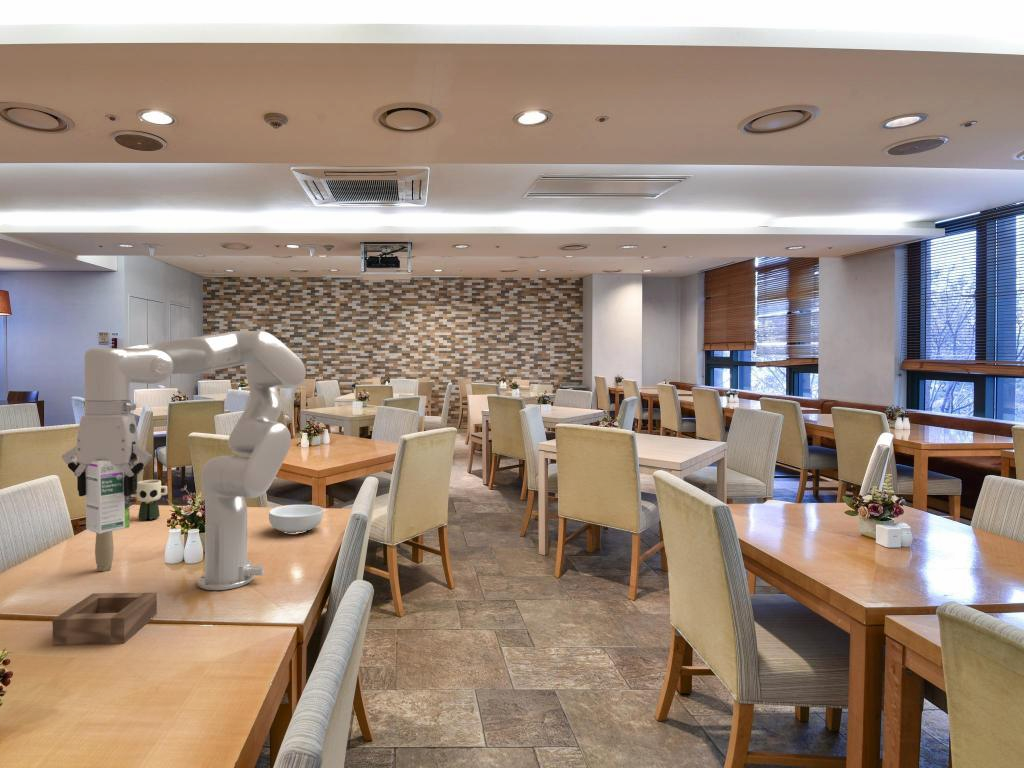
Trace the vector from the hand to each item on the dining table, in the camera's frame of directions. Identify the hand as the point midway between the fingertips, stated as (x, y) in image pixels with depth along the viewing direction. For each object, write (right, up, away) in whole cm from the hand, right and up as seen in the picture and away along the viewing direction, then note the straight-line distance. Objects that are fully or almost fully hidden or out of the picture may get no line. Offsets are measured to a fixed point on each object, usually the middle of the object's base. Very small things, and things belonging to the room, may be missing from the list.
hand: (107, 494), depth 121 cm
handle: (-24, -26, +34) cm, 50 cm away
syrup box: (0, -7, 0) cm, 7 cm away
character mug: (-43, -24, +84) cm, 97 cm away
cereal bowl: (+12, -26, +73) cm, 79 cm away
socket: (0, -28, +1) cm, 28 cm away
